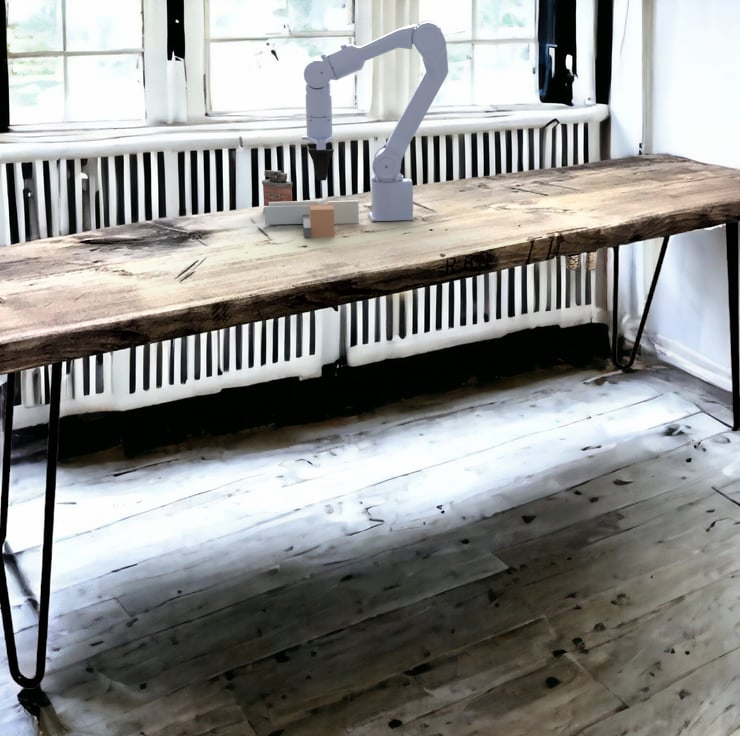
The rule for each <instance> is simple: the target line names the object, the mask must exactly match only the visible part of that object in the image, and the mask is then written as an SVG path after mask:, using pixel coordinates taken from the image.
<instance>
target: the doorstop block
mask: <svg viewBox="0 0 740 736" xmlns="http://www.w3.org/2000/svg"><path fill="white" fill-rule="evenodd" d="M310 223H311V237H310V238H335V236H336V235H335V224H334V207H333V205H327V204H326V205H318V206H310Z"/></svg>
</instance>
